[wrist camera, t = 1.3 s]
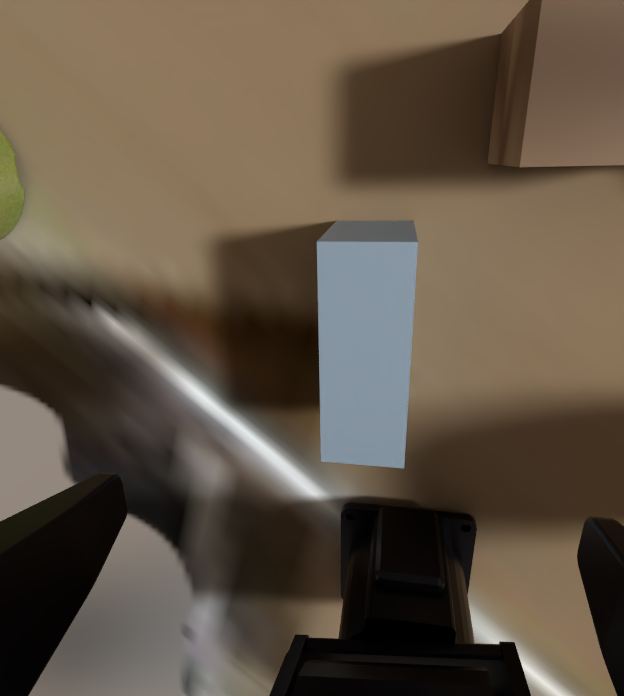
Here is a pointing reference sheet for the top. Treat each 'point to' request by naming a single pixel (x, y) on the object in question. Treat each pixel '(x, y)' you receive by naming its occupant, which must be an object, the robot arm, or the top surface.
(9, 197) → the plant pot
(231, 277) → the top surface
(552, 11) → the rail
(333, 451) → the light blue block
